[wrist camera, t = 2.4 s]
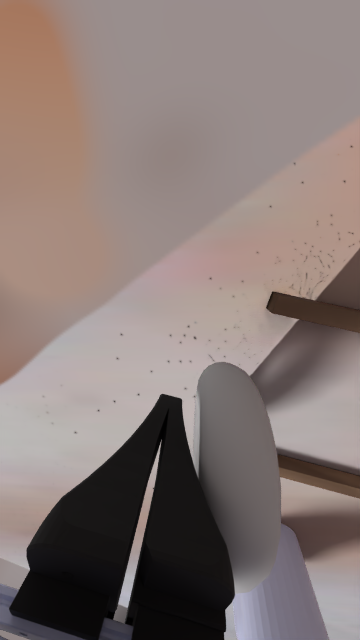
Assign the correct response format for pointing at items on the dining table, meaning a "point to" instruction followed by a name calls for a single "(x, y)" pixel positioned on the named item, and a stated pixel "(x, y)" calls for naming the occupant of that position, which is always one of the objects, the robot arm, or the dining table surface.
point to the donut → (238, 470)
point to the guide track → (333, 318)
